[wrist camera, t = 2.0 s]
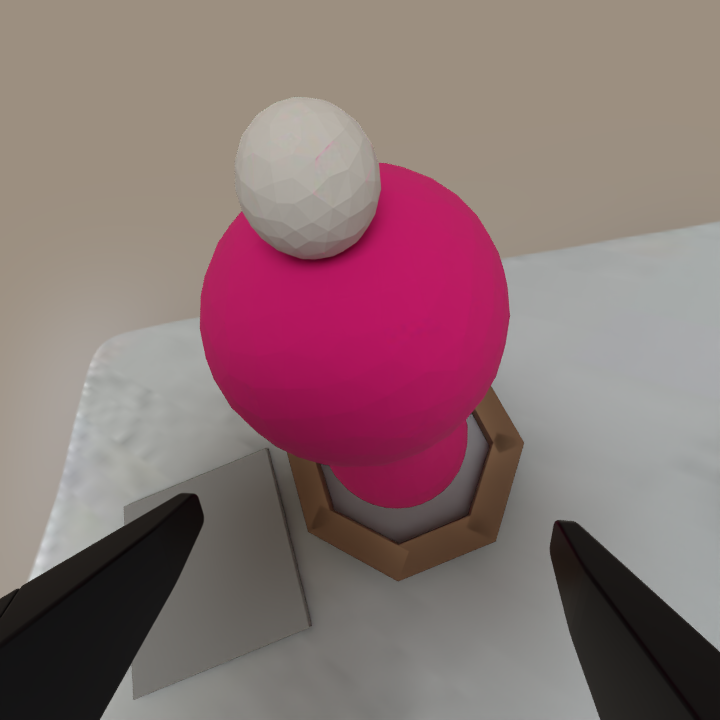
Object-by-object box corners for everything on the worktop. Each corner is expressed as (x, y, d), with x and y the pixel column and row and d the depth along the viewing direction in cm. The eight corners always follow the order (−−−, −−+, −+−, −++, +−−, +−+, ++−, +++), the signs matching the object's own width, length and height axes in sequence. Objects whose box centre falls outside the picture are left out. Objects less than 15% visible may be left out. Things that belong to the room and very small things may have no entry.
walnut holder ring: (556, 513, 19) (565, 513, 18) (334, 604, 19) (328, 609, 18) (448, 323, 24) (449, 314, 23) (276, 393, 25) (269, 388, 23)
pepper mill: (344, 391, 24) (95, -1, 6) (454, 389, 23) (591, -113, 4) (338, 506, 21) (-215, 477, 3) (463, 511, 20) (960, 516, 2)
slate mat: (311, 625, 19) (309, 627, 18) (139, 696, 19) (133, 699, 18) (268, 449, 23) (265, 448, 23) (128, 506, 23) (123, 506, 23)
